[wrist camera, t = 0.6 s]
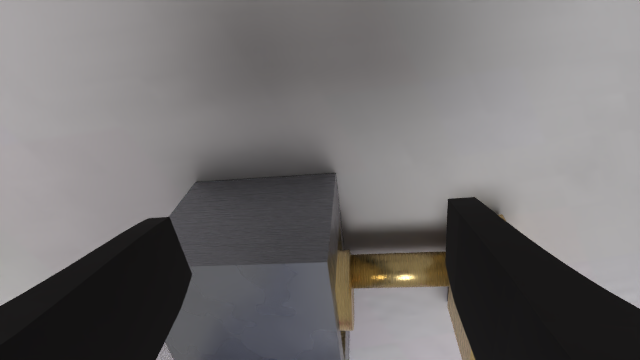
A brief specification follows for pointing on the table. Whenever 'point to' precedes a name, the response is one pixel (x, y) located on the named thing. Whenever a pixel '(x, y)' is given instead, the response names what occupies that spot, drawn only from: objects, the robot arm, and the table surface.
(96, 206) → the table surface
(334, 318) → the bore block
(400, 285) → the plunger with bar handle
